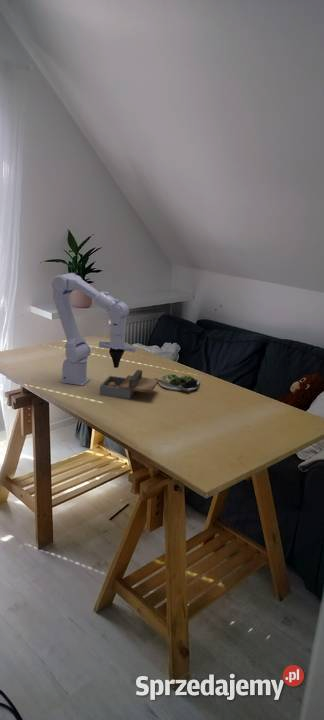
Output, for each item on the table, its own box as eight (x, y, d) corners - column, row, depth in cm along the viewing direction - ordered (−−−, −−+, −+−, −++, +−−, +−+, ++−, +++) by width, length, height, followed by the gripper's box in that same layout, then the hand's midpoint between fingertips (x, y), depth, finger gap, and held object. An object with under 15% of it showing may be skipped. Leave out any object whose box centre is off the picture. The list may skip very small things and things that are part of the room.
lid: (119, 388, 196) (119, 378, 195) (128, 377, 208) (128, 368, 207) (151, 393, 194) (151, 383, 193) (158, 382, 206) (158, 372, 204)
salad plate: (148, 389, 209) (149, 379, 207) (157, 375, 225) (158, 365, 224) (195, 396, 206) (196, 385, 204) (201, 381, 222) (202, 371, 221)
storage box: (99, 394, 199) (100, 385, 198) (109, 384, 210) (109, 375, 209) (129, 399, 197) (130, 390, 196) (137, 388, 208) (138, 379, 207)
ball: (107, 390, 203) (107, 382, 202) (109, 387, 206) (109, 380, 205) (114, 391, 202) (114, 384, 201) (116, 388, 205) (116, 381, 204)
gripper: (96, 333, 194) (95, 367, 199) (133, 338, 192) (131, 372, 196) (102, 329, 201) (101, 361, 205) (138, 334, 198) (136, 367, 202)
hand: (116, 366), depth 201 cm, fingers closed
